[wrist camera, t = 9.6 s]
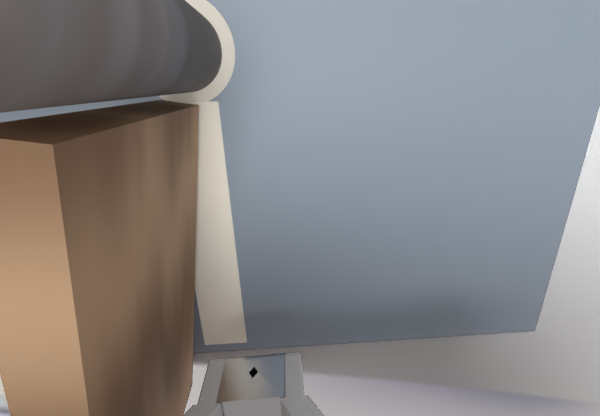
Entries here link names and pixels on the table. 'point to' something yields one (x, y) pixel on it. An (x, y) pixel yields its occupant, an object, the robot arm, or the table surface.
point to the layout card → (383, 166)
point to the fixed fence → (102, 51)
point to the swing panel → (98, 260)
